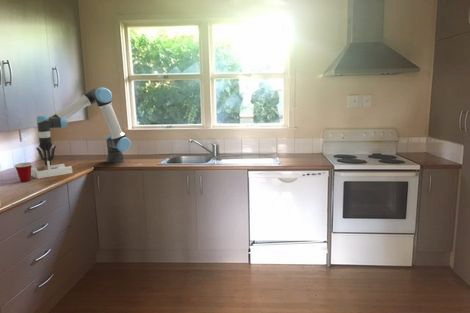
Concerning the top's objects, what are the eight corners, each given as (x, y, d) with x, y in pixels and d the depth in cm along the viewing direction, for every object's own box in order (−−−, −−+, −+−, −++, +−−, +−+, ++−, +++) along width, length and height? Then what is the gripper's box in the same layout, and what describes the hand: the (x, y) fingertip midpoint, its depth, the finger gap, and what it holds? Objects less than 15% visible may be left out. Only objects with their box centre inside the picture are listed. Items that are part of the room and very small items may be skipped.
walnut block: (45, 171, 263) (44, 165, 262) (48, 172, 259) (47, 166, 258) (37, 172, 259) (36, 166, 259) (39, 173, 255) (39, 167, 255)
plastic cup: (14, 183, 239) (11, 166, 237) (18, 180, 249) (16, 163, 247) (32, 182, 242) (30, 164, 240) (36, 178, 252) (34, 161, 250)
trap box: (64, 170, 280) (63, 163, 279) (72, 172, 269) (71, 166, 268) (30, 175, 264) (29, 168, 263) (37, 178, 252) (36, 171, 251)
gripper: (52, 136, 265) (56, 167, 269) (33, 137, 256) (37, 170, 260) (56, 136, 259) (59, 168, 264) (36, 138, 251) (40, 171, 255)
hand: (48, 169), depth 262 cm, fingers closed
